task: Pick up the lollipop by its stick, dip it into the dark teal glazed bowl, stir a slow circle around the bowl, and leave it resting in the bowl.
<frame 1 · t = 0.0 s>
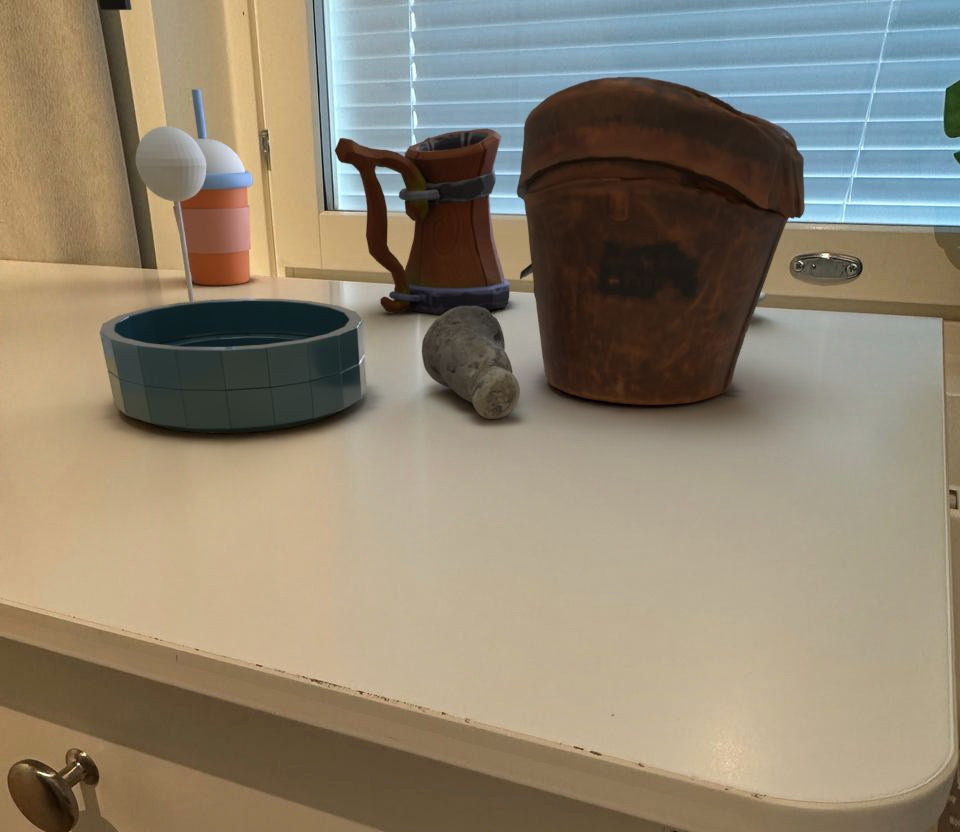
hand: (61, 2, 72), 24 cm above the table, tool pointing down, fingers open, 13 cm apart
stone: (478, 401, 58), on the table
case: (635, 384, 62), on the table
mug: (427, 310, 85), on the table
bowl: (244, 401, 57), on the table
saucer: (708, 318, 83), on the table
lollipop: (193, 309, 85), on the table
cup with straw: (221, 283, 98), on the table
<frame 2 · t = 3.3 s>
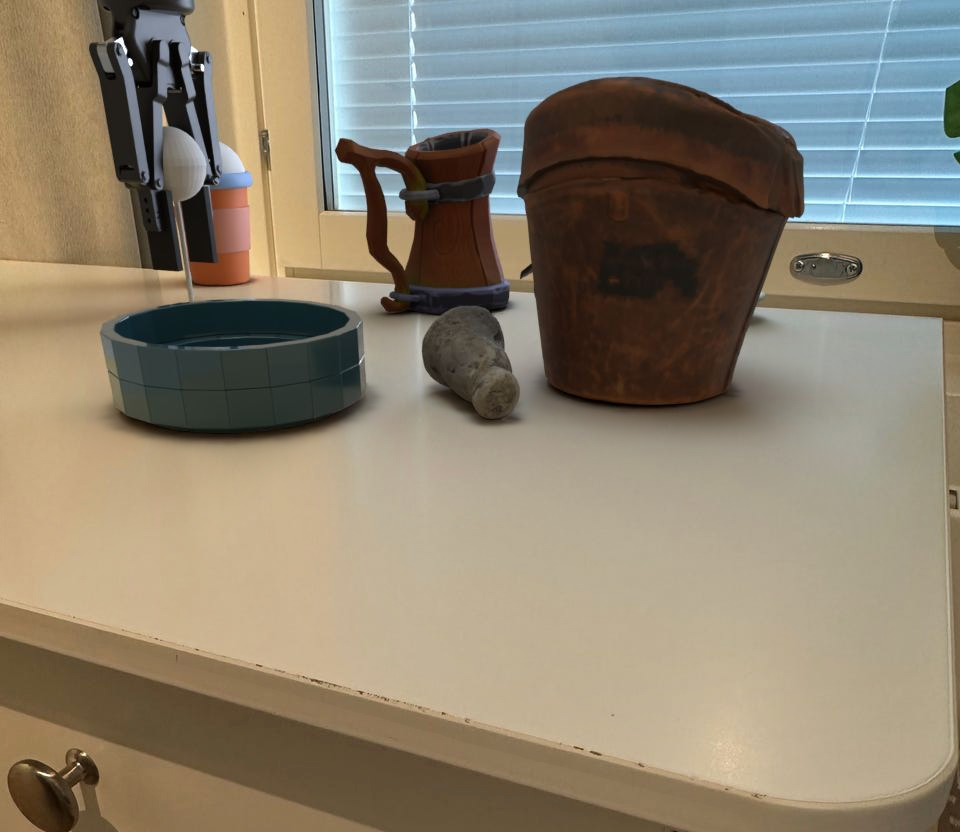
hand: (186, 265, 83), 4 cm above the table, tool pointing down, fingers closed on lollipop, 5 cm apart
lollipop: (193, 309, 85), on the table, touching gripper
everything else where it was.
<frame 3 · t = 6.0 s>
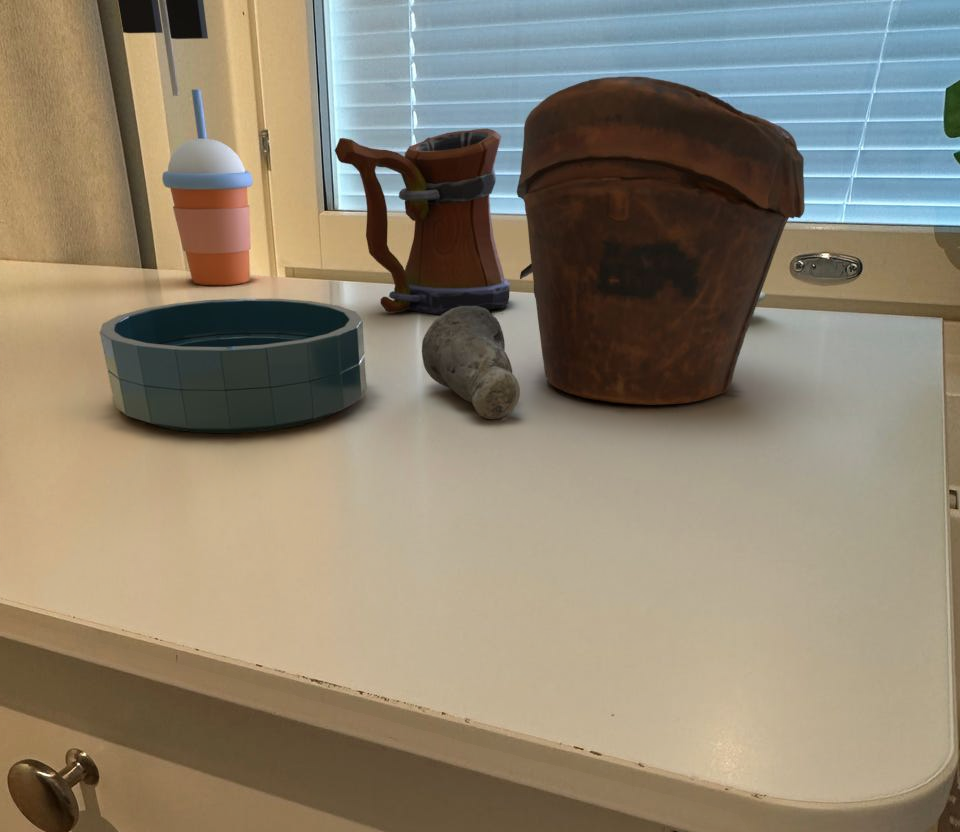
hand: (166, 34, 64), 21 cm above the table, tool pointing down, fingers closed on lollipop, 5 cm apart
lollipop: (176, 98, 66), point 17 cm above the table, touching gripper
everything else where it was.
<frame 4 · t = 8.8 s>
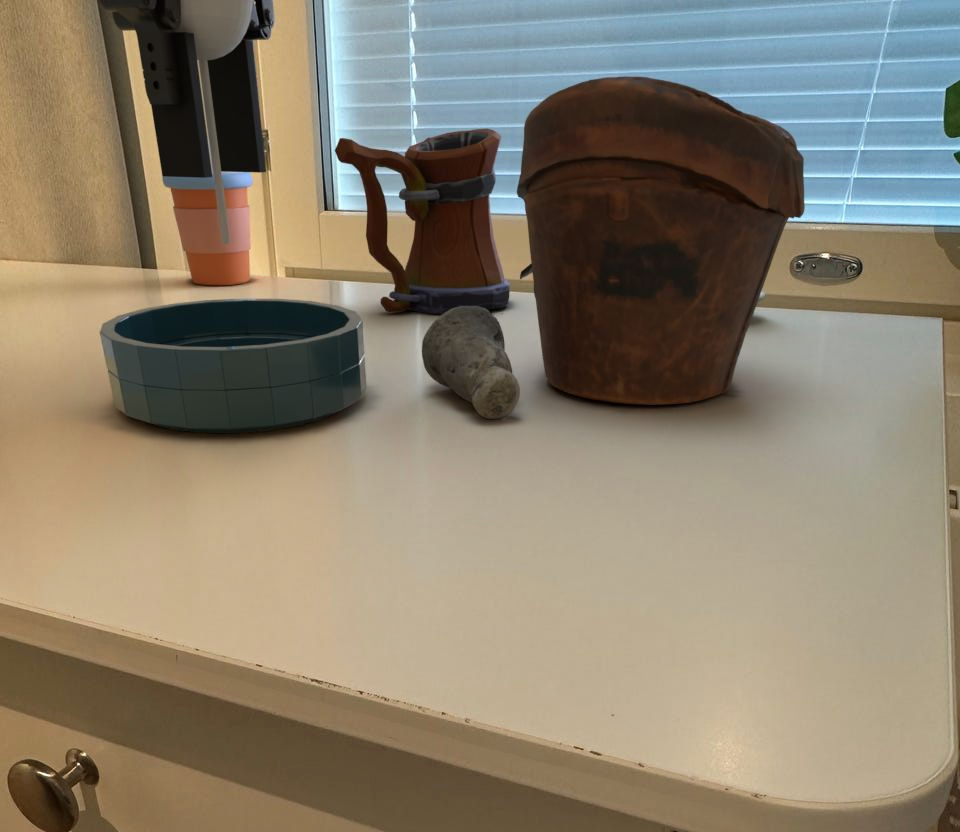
hand: (216, 173, 51), 13 cm above the table, tool pointing down, fingers closed on lollipop, 5 cm apart
lollipop: (226, 247, 53), point 9 cm above the table, touching gripper
everything else where it was.
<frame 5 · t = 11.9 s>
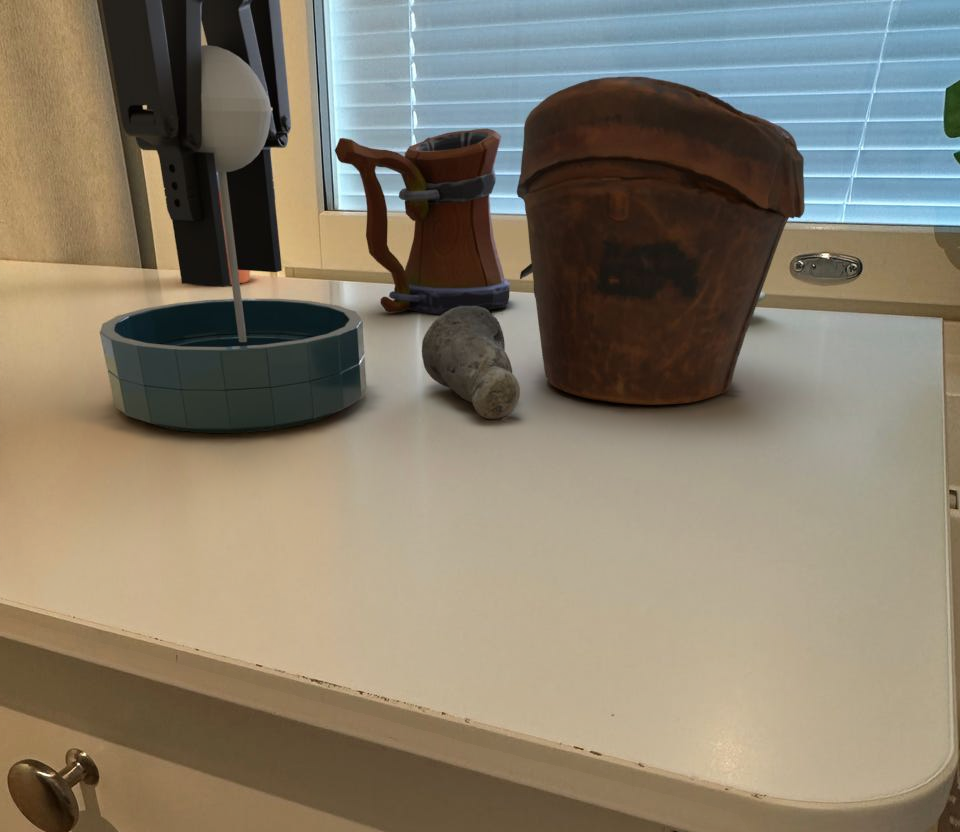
hand: (233, 276, 52), 8 cm above the table, tool pointing down, fingers closed on lollipop, 5 cm apart
lollipop: (243, 344, 54), point 4 cm above the table, touching gripper
everything else where it was.
when the fingers open (4 cm above the table, at t = 14.2 s): lollipop stays where it is, resting on bowl.
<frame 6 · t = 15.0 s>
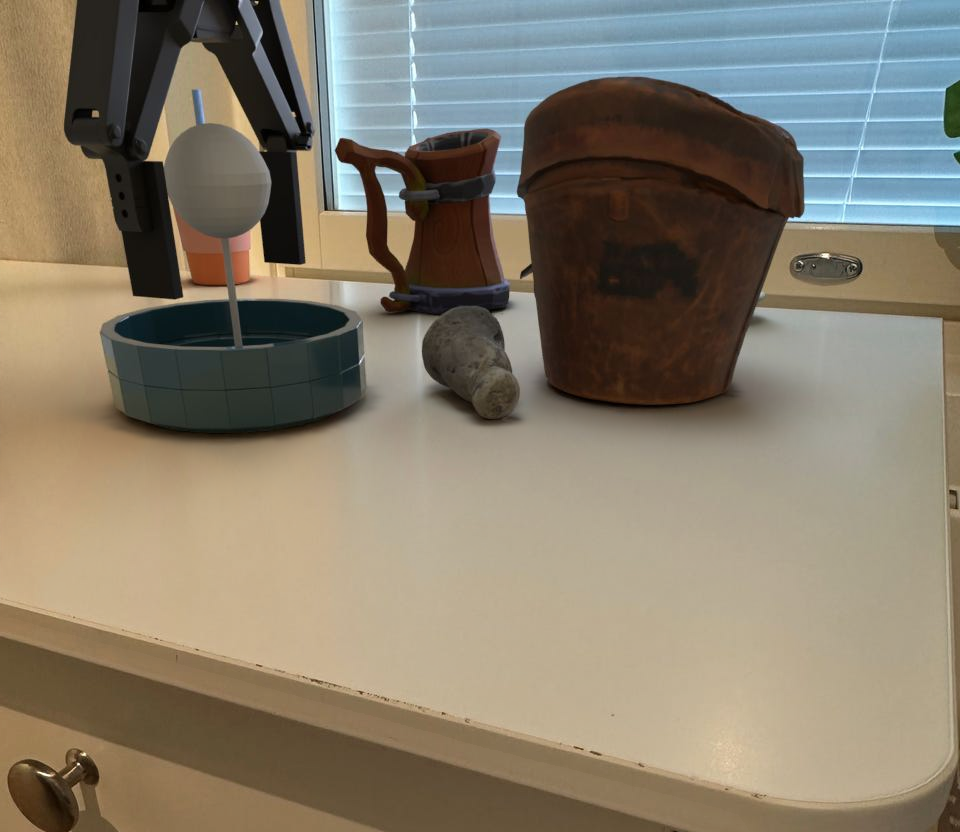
hand: (228, 278, 54), 7 cm above the table, tool pointing down, fingers open, 13 cm apart
lollipop: (244, 395, 57), resting on bowl
everything else where it was.
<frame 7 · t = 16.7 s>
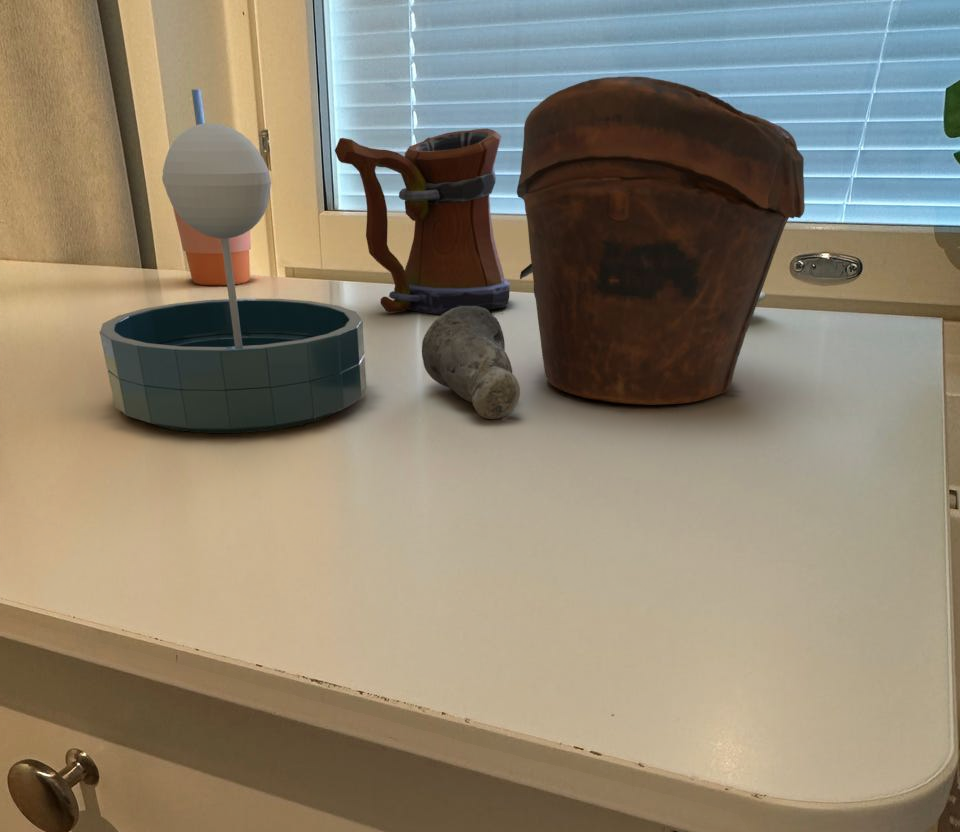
nothing on the table moved.
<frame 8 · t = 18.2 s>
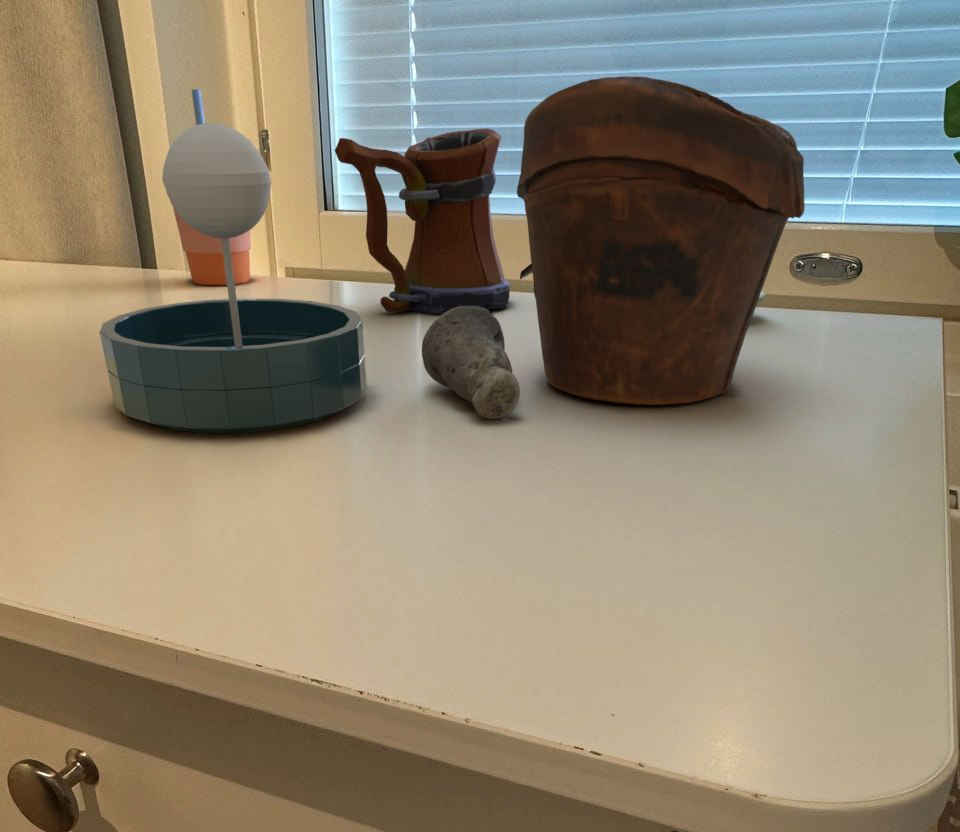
nothing on the table moved.
at the end: lollipop inside the target area in the bowl (0.1 cm from its centre), point 0.4 cm above the bowl's base; the gripper is holding nothing; lollipop moved 34.1 cm from its start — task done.
